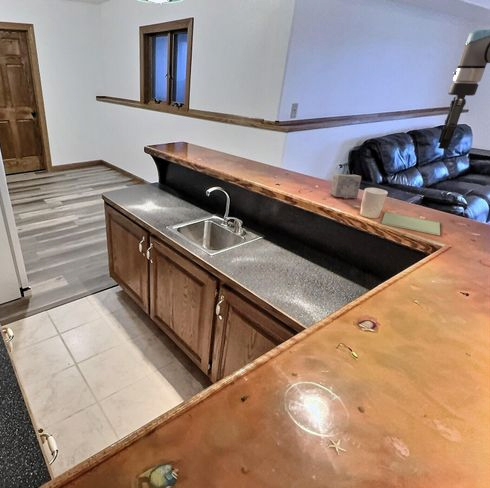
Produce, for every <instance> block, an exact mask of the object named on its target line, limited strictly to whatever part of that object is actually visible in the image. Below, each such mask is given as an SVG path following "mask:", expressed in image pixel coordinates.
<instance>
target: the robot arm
mask: <svg viewBox="0 0 490 488" xmlns="http://www.w3.org/2000/svg"><path fill="white" fill-rule="evenodd" d="M488 64H490V29H476V30H472V31H471V32H470V33H469V34H468V36H467V39H466V42H465V44H464V45H463V50H462V53H461V56H460V58H459V62H458V65H457V67H456V71H453V72H452V75H454V76H453V78H452V81H453V82H452V83H451V84H450V87H449V90H448V95H450V96H454V97H453V99H452V100H451V101H450V104H449V108H448V113H447V116H446V118H445V120H444V125H443V127H442V130H441V132H440V135H439V138H438V141H437V143H438V144H439V145H438V149H439V150H440V149H441V150H448V149H449V146H450V144H451V141H452V139H453V136H454V133H455V130H456V129H457V127H458V122H459V120H460V117H461V114H462V112H463V110H464V108H465V106H466V104H467V101H466V96H469V97H472V96H475V95H476V93H477V90H478V88H479V82H481V80H482V78H483V76H484V73H485V70H486V67H487V65H488Z"/></svg>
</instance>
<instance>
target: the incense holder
mask: <svg viewBox="0 0 490 488" xmlns="http://www.w3.org/2000/svg"><path fill="white" fill-rule="evenodd" d="M361 181H362V175H357V174H344V173H336V172H335V173H333V176H332V183H331V188H330V191H329V195H332V196H333V197H335V198H336V197H337V198H343V199H344V200H347V199H348V198H352V199H358V196H359V192H360V187H361Z"/></svg>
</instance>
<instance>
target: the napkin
mask: <svg viewBox="0 0 490 488" xmlns="http://www.w3.org/2000/svg"><path fill="white" fill-rule="evenodd" d="M440 223H441V222H439V221H434V220H429V219H423V218H419V217H414V216H408V215H404V214H403V215H402V214H398V213H392V212H387V211H385V212H384V215H383V217H382V220H381V223H380V224H381V225H386V226H390V227H396V228H400V229H405V230H410V231H414V232H419V233H424V234H428V235H434V236H437V237H440V236H441V224H440Z"/></svg>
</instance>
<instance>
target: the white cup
mask: <svg viewBox="0 0 490 488" xmlns="http://www.w3.org/2000/svg"><path fill="white" fill-rule="evenodd" d="M388 194H389V192H388V190H385V189H382V188H377V187H365V188H364V191H363V194H362V199H361V204H360V210H359V215H360V216H362V217H364V218H368V219H369V218H370V219H377V218H379V217H380V215H381V211H382V209H383V208H384V205H385V202H386V200H387V197H388Z"/></svg>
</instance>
